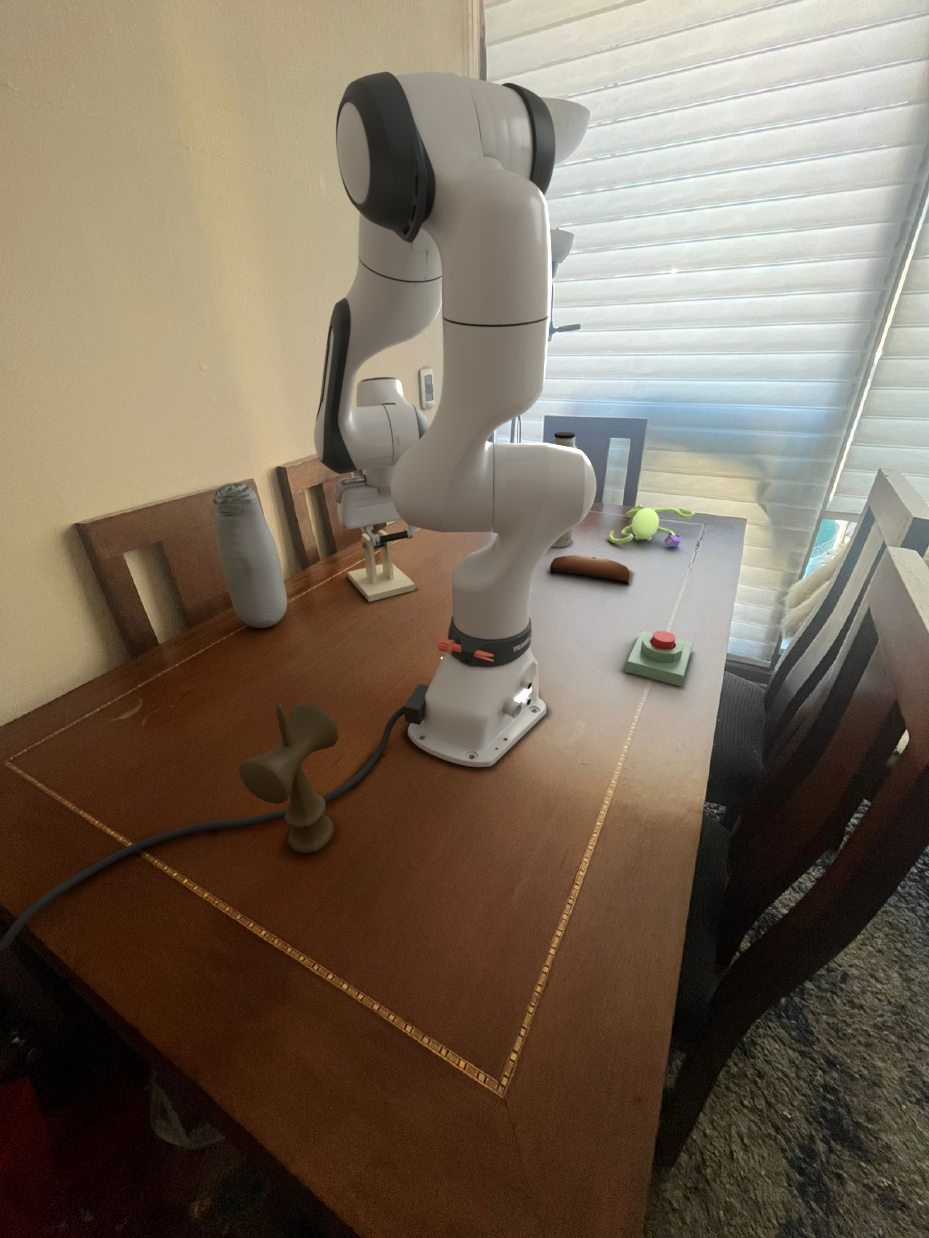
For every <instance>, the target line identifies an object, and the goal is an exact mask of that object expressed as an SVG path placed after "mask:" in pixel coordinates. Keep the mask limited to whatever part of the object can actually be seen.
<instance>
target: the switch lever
mask: <svg viewBox="0 0 929 1238" xmlns="http://www.w3.org/2000/svg"><path fill="white" fill-rule="evenodd" d="M387 534H388V535H383V536H379V535H378V536H379V537H380V541H379V542H380V545H377V546H374V550H376V549H381V547H384V543H385V542H390V541H391V542H394V541H398V540H404V539H407V532H406V531H404V530H402V531H398V532H393V533H387Z"/></svg>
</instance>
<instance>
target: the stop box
mask: <svg viewBox="0 0 929 1238" xmlns="http://www.w3.org/2000/svg"><path fill="white" fill-rule="evenodd" d="M653 634H654V632H649V631H644V630H641V631H640V632H639V634H638V636H637V639H636V641H635V643H634V645H633V648H632V649H631V651H630V654H629V656H628V658H627V661H626V665H625V670H624V671H625V672H626V673H629V674H633V675H637V676H641V677H643V678H647V679H652V680H655V681H659V682H661V683H666V684H670V685H673V686H677V687H681V686H682V685H683V681H684V678H685V675H686V671H687V667H688V664H689V661H690V657H691V653H692V649H693V646H694V642H691V641H687V640H682V639H679V638H678V637H676V636H675V638H676V639H675V643H674V647H673V649H671V650H662V649H658V648H656V647H654V646H653V645H652V643H651V642H652V638H653Z"/></svg>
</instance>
